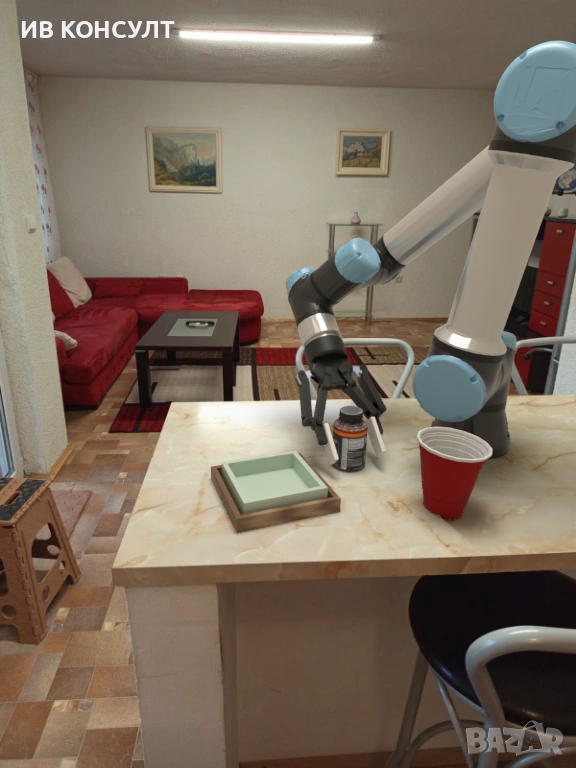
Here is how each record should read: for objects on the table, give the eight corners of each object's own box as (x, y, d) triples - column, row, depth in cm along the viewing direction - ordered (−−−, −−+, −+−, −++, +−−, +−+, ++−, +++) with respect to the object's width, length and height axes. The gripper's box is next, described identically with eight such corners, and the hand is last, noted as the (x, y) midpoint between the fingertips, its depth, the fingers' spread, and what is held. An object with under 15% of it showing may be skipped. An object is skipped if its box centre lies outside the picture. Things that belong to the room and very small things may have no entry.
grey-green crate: (295, 468, 89) (295, 450, 88) (326, 508, 78) (327, 487, 76) (222, 481, 85) (221, 462, 83) (244, 524, 73) (244, 503, 72)
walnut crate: (299, 467, 91) (300, 452, 90) (339, 516, 77) (340, 498, 76) (211, 482, 86) (210, 466, 85) (236, 537, 72) (236, 519, 71)
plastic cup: (486, 536, 73) (500, 460, 69) (409, 525, 75) (418, 451, 71) (476, 496, 83) (487, 428, 79) (408, 488, 85) (415, 421, 81)
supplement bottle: (328, 460, 94) (331, 403, 90) (360, 460, 94) (364, 402, 91) (334, 477, 88) (337, 416, 85) (368, 476, 89) (372, 415, 85)
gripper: (364, 349, 103) (401, 455, 94) (264, 358, 96) (294, 474, 87) (379, 329, 96) (421, 441, 88) (274, 337, 89) (307, 460, 80)
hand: (357, 457), depth 87 cm, fingers open, 8 cm apart
